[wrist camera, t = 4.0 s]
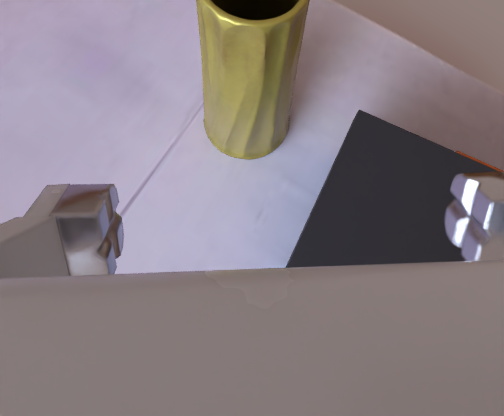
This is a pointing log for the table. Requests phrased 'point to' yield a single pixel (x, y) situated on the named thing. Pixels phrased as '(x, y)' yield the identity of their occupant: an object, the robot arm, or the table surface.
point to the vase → (249, 71)
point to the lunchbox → (384, 200)
